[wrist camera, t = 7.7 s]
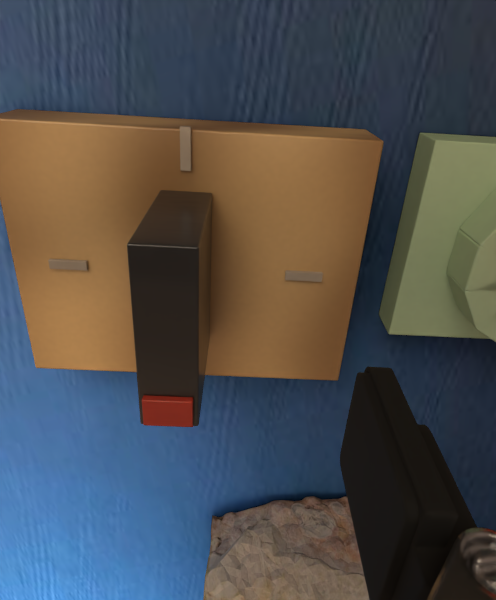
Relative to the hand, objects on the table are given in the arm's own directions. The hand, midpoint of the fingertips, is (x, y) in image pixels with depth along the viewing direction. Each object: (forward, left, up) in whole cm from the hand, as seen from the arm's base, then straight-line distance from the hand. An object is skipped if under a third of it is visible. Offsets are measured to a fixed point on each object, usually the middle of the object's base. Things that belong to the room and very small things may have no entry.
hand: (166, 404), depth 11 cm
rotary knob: (0, 0, -7) cm, 7 cm away
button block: (-13, -1, -10) cm, 16 cm away
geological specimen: (-6, +23, -10) cm, 25 cm away
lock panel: (0, 0, -10) cm, 10 cm away
